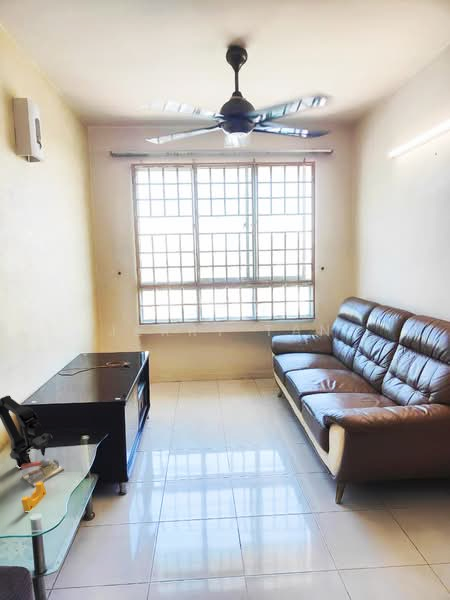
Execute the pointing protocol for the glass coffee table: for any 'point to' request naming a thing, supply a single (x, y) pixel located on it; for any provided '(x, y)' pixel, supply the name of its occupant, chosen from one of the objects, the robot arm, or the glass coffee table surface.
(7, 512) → the glass coffee table surface
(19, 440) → the robot arm
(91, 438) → the glass coffee table surface
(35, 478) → the valve body
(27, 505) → the pipe clamp
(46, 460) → the lever
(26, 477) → the board
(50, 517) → the glass coffee table surface
